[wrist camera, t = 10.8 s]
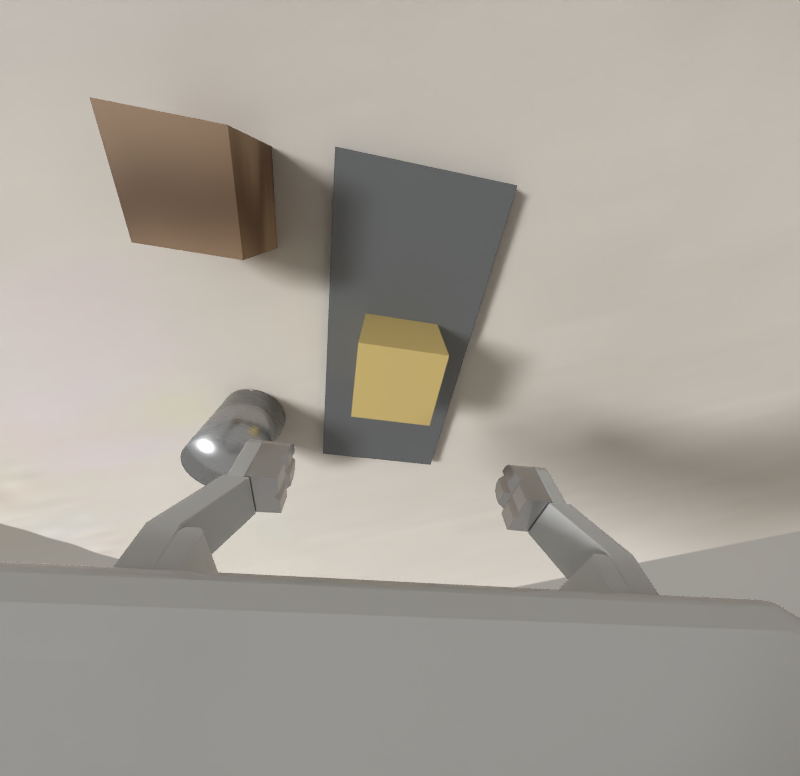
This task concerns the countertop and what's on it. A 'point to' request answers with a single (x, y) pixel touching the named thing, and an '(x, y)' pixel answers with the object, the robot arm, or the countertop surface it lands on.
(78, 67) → the countertop surface
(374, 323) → the mustard block
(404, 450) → the rubber mat
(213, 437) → the metal canister
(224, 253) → the walnut block
